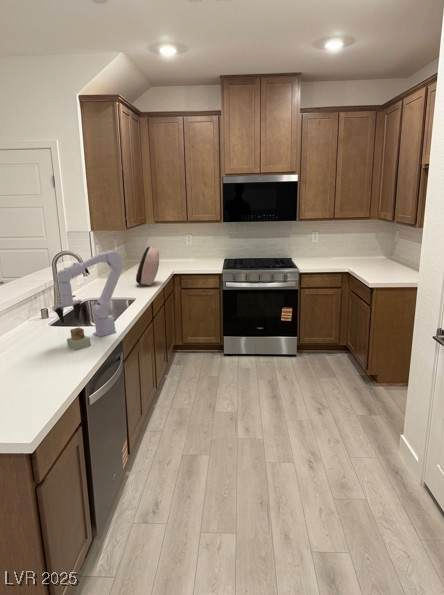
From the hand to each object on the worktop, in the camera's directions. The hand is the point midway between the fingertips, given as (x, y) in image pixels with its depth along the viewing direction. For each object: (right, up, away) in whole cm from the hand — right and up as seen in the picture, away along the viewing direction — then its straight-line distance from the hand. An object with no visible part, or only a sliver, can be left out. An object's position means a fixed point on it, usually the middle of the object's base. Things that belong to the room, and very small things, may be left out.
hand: (69, 320), depth 206 cm
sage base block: (+7, -12, -6) cm, 15 cm away
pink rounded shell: (+18, +22, +121) cm, 125 cm away
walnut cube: (+7, -8, -7) cm, 13 cm away
